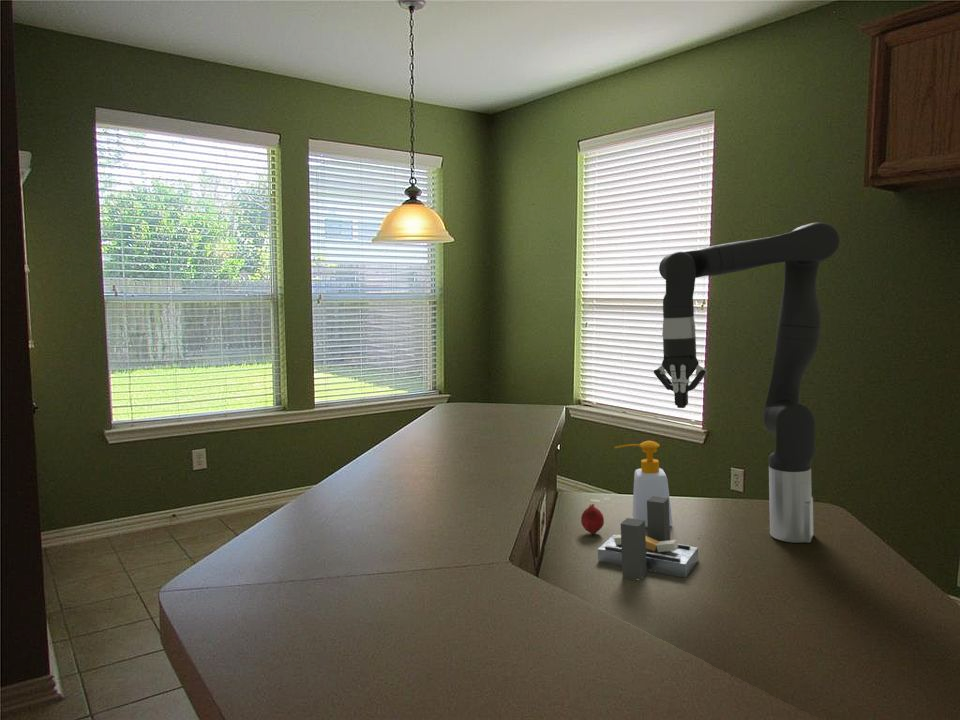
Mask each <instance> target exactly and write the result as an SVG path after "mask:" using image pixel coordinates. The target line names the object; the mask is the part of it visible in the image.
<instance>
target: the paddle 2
mask: <svg viewBox="0 0 960 720" xmlns="http://www.w3.org/2000/svg"><path fill="white" fill-rule="evenodd" d="M677 543H678V541H677V539H670V540H669V541H659V543H658V544H657V545H656V546H657V550H658V552H664V551H675V550H676V549H677V548H678V544H679V543H678V544H677Z"/></svg>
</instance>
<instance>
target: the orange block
mask: <svg viewBox="0 0 960 720" xmlns="http://www.w3.org/2000/svg"><path fill="white" fill-rule="evenodd" d="M645 538H646V548H648V549H650V550H652V551H655V550H656V549H657V546H656V545H657V544H658V543H659V541H657V540H655V539H652V538H650V537H648V535H645Z"/></svg>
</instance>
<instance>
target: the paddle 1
mask: <svg viewBox="0 0 960 720" xmlns="http://www.w3.org/2000/svg"><path fill="white" fill-rule="evenodd" d="M616 535H617V536H616V537H615V538H614V540H615V544H616V545H621V535H618V534H616Z"/></svg>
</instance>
